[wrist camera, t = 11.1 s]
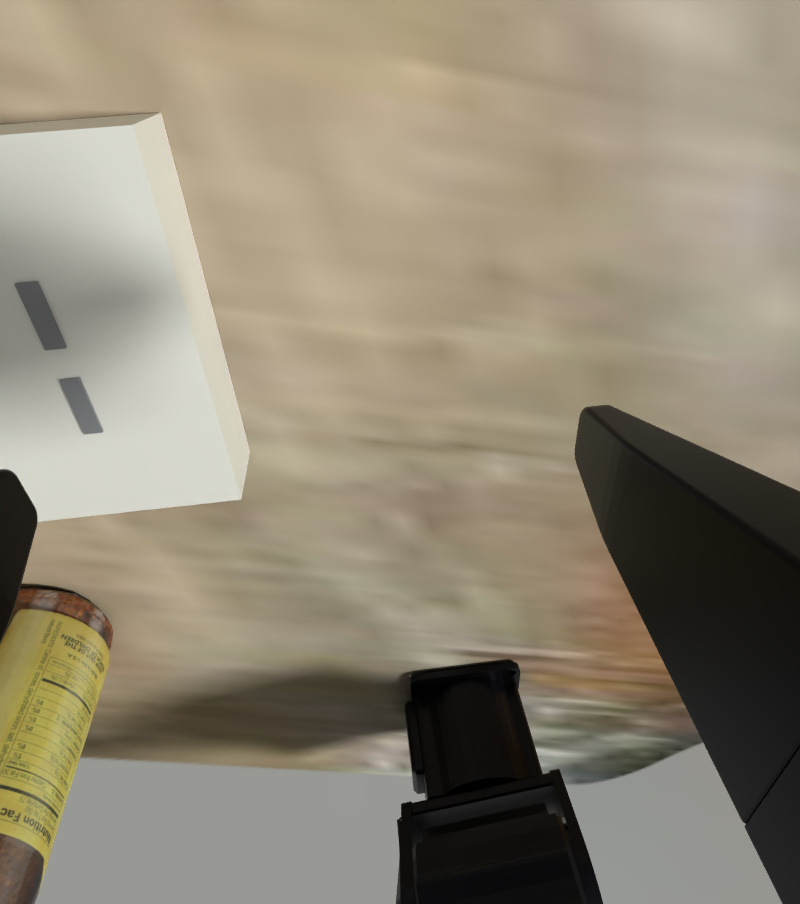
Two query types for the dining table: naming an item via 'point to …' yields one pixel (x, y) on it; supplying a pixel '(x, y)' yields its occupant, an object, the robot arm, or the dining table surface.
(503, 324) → the dining table surface
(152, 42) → the dining table surface
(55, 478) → the socket plate
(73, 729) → the sauce bottle
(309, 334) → the dining table surface
